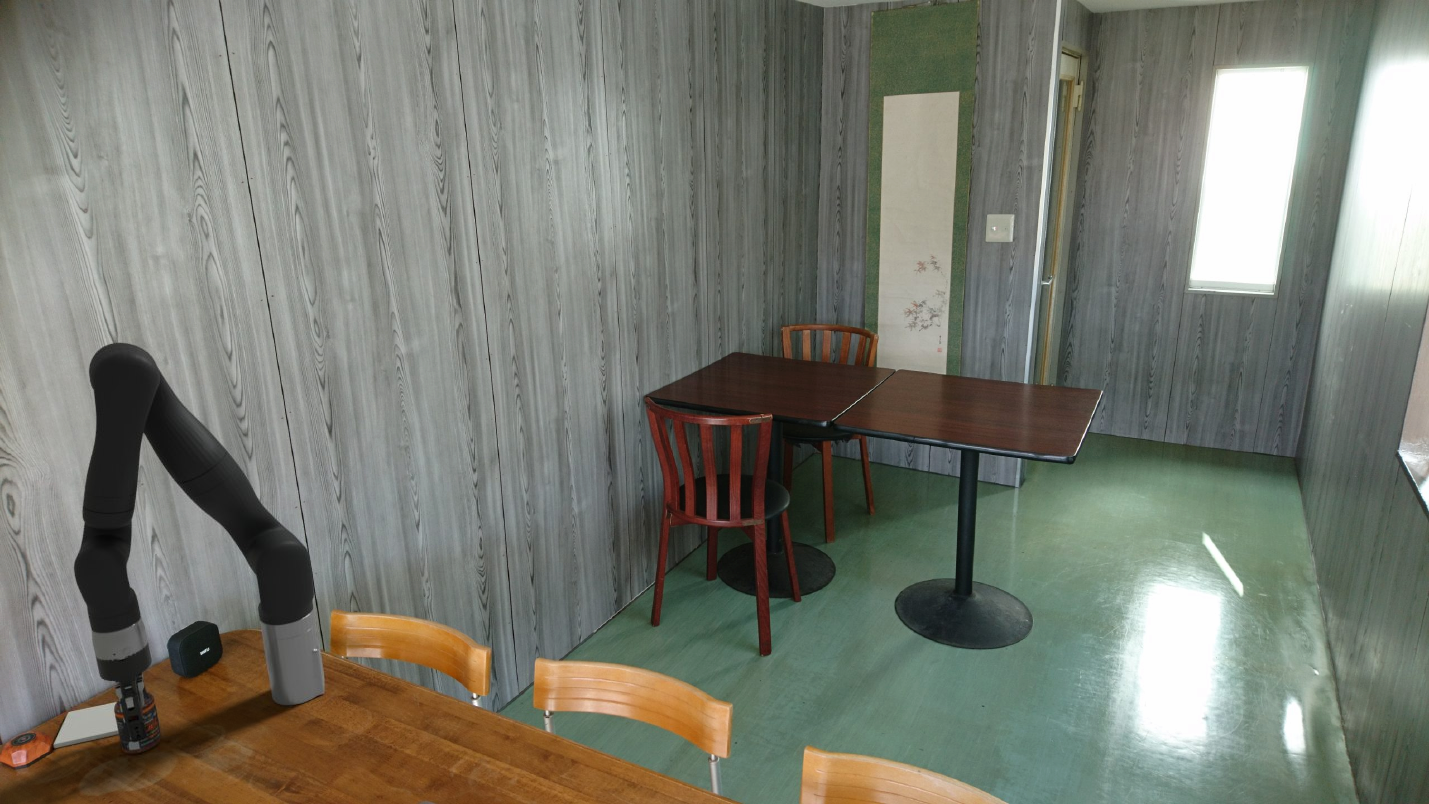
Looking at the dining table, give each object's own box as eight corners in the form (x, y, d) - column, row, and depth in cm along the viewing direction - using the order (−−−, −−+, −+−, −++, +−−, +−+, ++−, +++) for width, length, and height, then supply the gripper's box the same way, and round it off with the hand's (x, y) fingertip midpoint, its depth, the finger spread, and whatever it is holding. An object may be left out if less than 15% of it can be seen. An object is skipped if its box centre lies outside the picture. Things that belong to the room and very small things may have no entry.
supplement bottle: (142, 757, 147) (130, 701, 144) (113, 753, 148) (101, 697, 145) (170, 735, 153) (159, 681, 150) (142, 731, 154) (130, 677, 151)
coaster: (132, 702, 162) (131, 698, 162) (121, 733, 153) (120, 729, 153) (69, 715, 158) (68, 712, 158) (54, 748, 149) (53, 744, 149)
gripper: (95, 633, 149) (114, 715, 153) (93, 673, 137) (113, 760, 142) (146, 621, 153) (162, 701, 157) (148, 658, 141) (166, 744, 146)
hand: (139, 729), depth 150 cm, fingers closed on supplement bottle, 6 cm apart
